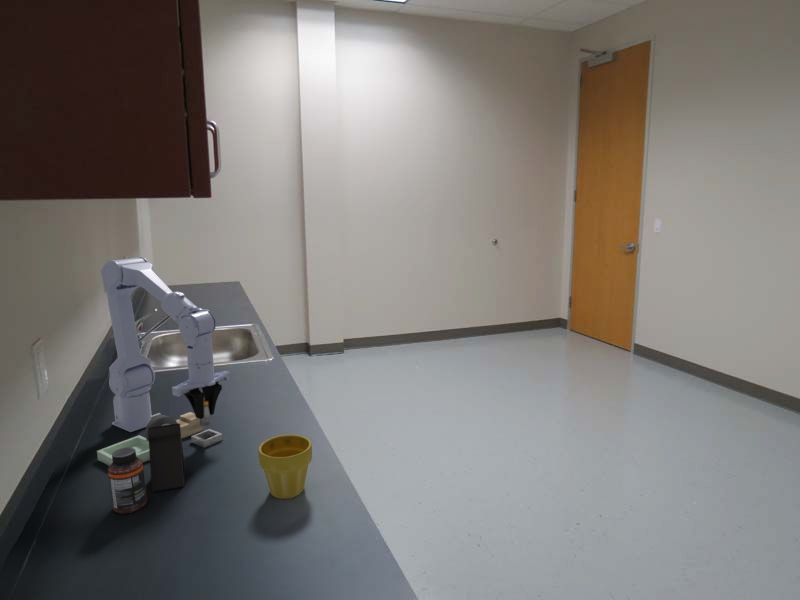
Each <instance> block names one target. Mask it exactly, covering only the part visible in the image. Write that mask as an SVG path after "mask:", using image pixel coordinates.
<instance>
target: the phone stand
mask: <svg viewBox="0 0 800 600" xmlns="http://www.w3.org/2000/svg"><path fill="white" fill-rule="evenodd" d="M148 440H149V452H150V460H149V463H150V464H149V466H150V484H151V485H150V486H151V493H152V494H153V493H158V492H163V491H170V490H175V489H179V488H180V489H181V488H184V486H185V474H186V464H185V456H184V449H183V438H182V439H181V429H180V423H179V424H172V425H164V426H157V427H150V428H149V429H148Z"/></svg>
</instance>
